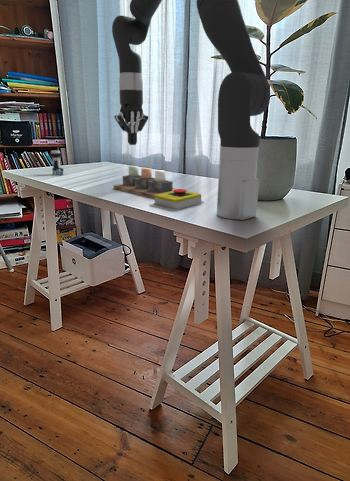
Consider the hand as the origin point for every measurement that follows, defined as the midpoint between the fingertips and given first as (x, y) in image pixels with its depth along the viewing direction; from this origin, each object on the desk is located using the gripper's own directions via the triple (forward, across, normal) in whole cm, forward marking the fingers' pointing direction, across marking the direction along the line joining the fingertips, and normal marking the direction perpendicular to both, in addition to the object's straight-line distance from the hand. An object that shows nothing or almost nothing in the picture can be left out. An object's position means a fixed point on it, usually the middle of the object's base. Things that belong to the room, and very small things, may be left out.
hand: (132, 144), depth 116 cm
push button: (+15, -6, +45) cm, 48 cm away
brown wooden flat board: (+15, 0, -7) cm, 16 cm away
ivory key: (+11, 0, -14) cm, 18 cm away
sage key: (+11, 0, 0) cm, 11 cm away
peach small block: (+11, 0, -7) cm, 13 cm away
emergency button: (+15, -5, -27) cm, 32 cm away
